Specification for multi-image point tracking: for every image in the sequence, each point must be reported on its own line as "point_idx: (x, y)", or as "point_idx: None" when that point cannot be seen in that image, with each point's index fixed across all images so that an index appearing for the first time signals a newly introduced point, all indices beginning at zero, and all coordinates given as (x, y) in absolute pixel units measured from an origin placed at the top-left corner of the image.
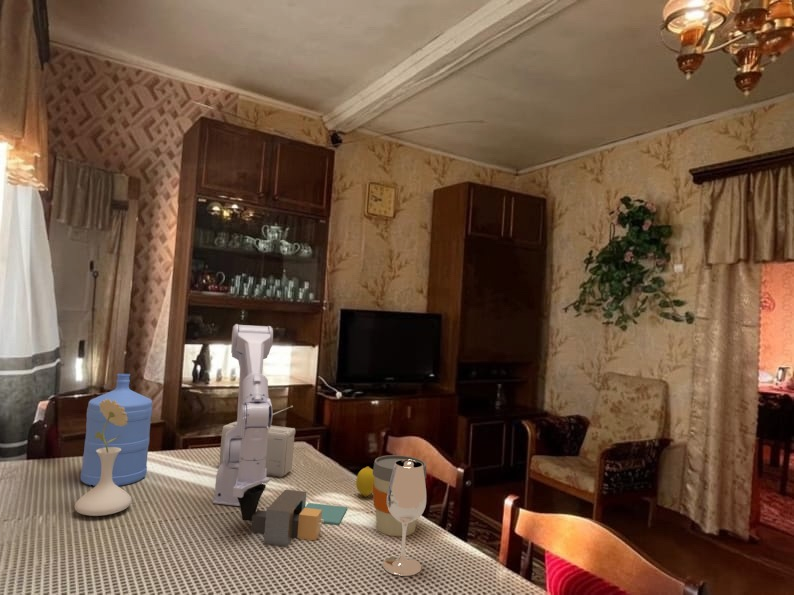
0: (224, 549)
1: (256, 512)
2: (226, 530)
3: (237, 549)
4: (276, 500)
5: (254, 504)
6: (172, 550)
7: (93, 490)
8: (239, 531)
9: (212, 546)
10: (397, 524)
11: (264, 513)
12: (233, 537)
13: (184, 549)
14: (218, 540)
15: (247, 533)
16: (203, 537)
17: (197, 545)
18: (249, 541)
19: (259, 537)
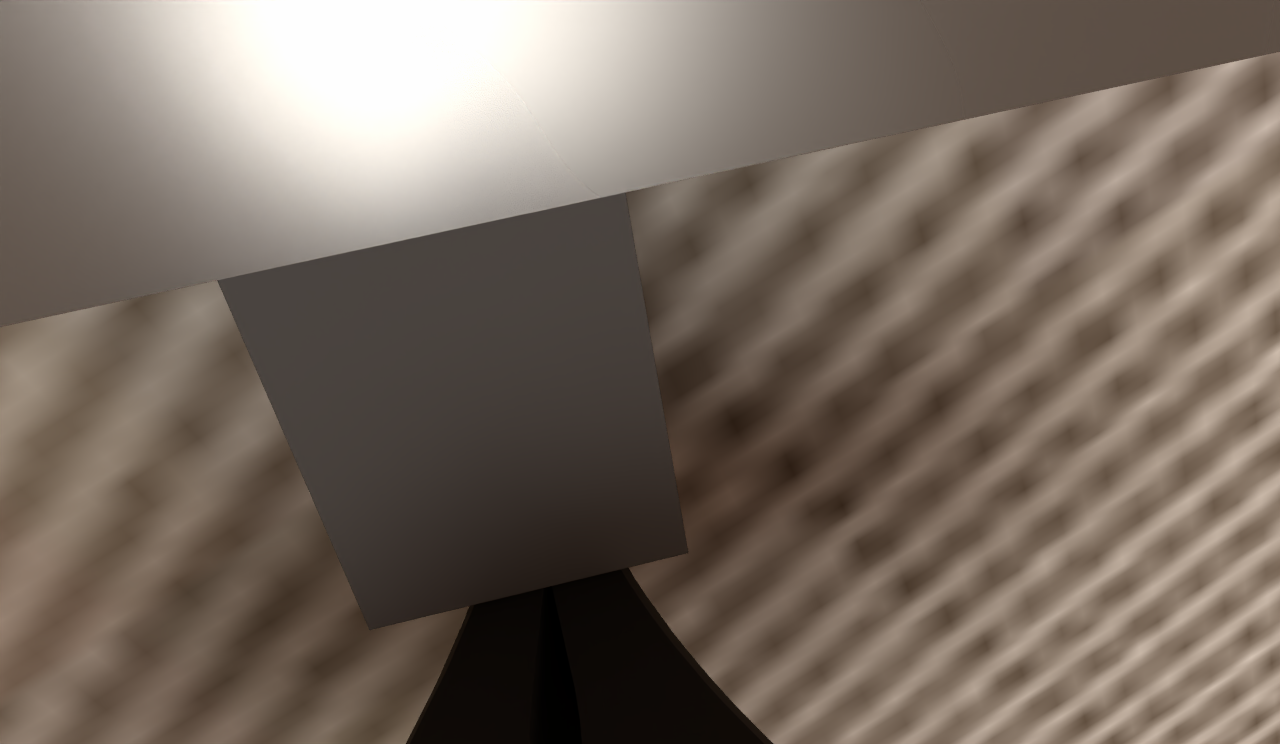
0: (1210, 365)
1: (499, 577)
2: (722, 649)
3: (1196, 225)
4: (535, 114)
5: (745, 730)
6: (1264, 720)
7: None
8: (685, 520)
9: (1151, 516)
10: None
11: (458, 412)
12: (876, 474)
13: (1239, 666)
14: (997, 557)
15: (699, 401)
16: (964, 705)
17: (1147, 637)
18: (933, 223)
19: (758, 164)
